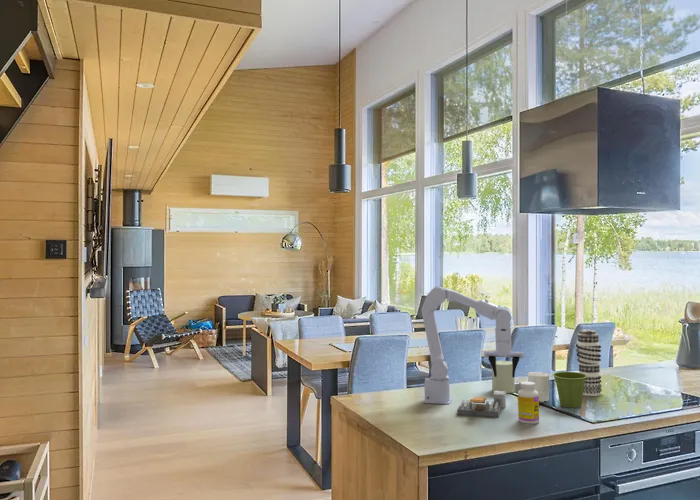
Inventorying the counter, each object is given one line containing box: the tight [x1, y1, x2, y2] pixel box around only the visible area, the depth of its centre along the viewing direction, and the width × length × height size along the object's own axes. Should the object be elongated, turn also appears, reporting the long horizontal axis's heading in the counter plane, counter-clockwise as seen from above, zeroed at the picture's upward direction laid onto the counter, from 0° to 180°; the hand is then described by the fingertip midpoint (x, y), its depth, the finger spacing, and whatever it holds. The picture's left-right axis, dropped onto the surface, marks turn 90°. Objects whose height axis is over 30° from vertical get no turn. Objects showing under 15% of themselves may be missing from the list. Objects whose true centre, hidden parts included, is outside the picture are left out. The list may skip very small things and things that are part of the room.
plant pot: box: [552, 371, 587, 409], centre depth 207 cm, size 12×12×11 cm
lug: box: [492, 391, 507, 409], centre depth 207 cm, size 4×5×5 cm
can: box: [491, 360, 516, 394], centre depth 233 cm, size 9×9×12 cm
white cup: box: [527, 371, 550, 403], centre depth 216 cm, size 8×8×10 cm
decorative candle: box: [575, 328, 603, 397], centre depth 224 cm, size 9×9×25 cm
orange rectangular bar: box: [469, 396, 488, 404], centre depth 201 cm, size 4×16×2 cm, turn 161°
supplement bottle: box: [517, 381, 540, 425], centre depth 189 cm, size 7×7×13 cm
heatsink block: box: [456, 399, 502, 419], centre depth 201 cm, size 14×10×4 cm
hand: (504, 376), depth 213 cm, fingers open, 6 cm apart
